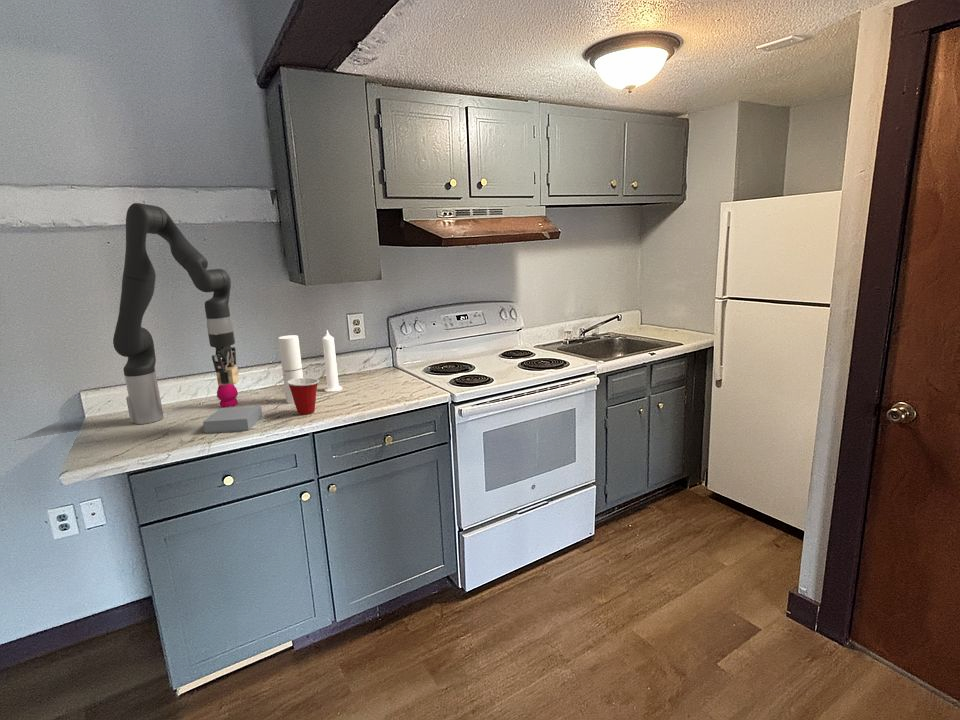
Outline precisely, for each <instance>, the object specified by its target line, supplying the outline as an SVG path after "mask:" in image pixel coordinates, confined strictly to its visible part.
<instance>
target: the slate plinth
mask: <svg viewBox="0 0 960 720" xmlns="http://www.w3.org/2000/svg"><path fill="white" fill-rule="evenodd" d="M262 418H263V411H262V405H253V406H252V405H251V406H236V407H235V406H232V407H220V408H219V409H218V410H216V411H215V412H213V413H212V414H210V416H208V417H207V418H206V419H204V420H202V421H203V422H202V423H203V429H204V433H205V434H213V433H215V434H216V433H229V432H230V433H231V432H232V433H233V432H247V431H250V430H251V429H252V428H253V427H254V426H255V425H256V424H257V423H258V422H259V421H260V420H261V419H262Z"/></svg>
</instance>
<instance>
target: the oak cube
mask: <svg viewBox="0 0 960 720" xmlns="http://www.w3.org/2000/svg"><path fill="white" fill-rule="evenodd" d="M227 373H228V380H229V383H227V384H222V383H221V378H220V373H218V372H216V371H215V374H216V380H217V386H219V385H234V386H235V384H236V383H238V382H240V377H239V370H238V366H237V365H235V366H234V367H227Z"/></svg>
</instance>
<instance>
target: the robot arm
mask: <svg viewBox="0 0 960 720" xmlns="http://www.w3.org/2000/svg"><path fill="white" fill-rule="evenodd" d="M148 234H149V235H150V234H151V235H158V236H160V237H161V238H163V240H165V241H166V242H167V243H168V245H169V248H170V249H169V250H170V253H171V255H172V257H173V258H174V260H175V261H176V262H177V263H178V264H179V265H180V266H181V267H182V268H183V270H185V271H186V272H187V273H188V276H189V277H190V279H191V281H192V283H193V285H194V286H195V288H197V289H198V291H201V292H203V293H212V292H213V294H212V297H211V298H209V299H208V300H205V302H204V311H205V317H206V328H207V335H208V341H209V346H210V347H211V348H214V349H215V355H214V354H213V355H211V359H212V360H211V361H212V363H213V367H215V368H214V371H215V373H216V372H218V373H220V378H221V383H222V384H227V383H229V380H228V373H227V367H234V366H237V355H236V354H237V352H236V347H234V346H233V345H235V343H236V341H235V334H234V333H235V332H234V327H233V321H232V317H231V314H230V306H229V301H230V294H231V289H232V288H231V286H232V282H231V277H230V275H229V273H228V272H227V271H226V270H225V269H223V268H213V269H207V268H208V266H209V262H208V260H207V258H206V257H205V256H204V255H203V254H202V253H201V252H200V251H199V250H198V249H197V248H196V247H195V246H194V245H193V244H191V242H190V241H189V240H188V239H187V238H186V236H185V235H184V234H183V232H182V231H181V230H180V229H179V227H178V226H177V225H176V223H175V222H174V220H173V219H172V218H171V216H170V215H169V214H168V212H167V211H166V210H165V209H164V208H162V207H160V206H157V205H153V204H152V205H151V204H147V203H146V204H145V203H142V202H141V203H140V202H135V203H132V204H131V205H130V206H129V207H128V208H127V211H126V216H125V252H124V253H125V254H124V264H123V265H124V266H123V271H122V278H121V279H122V280H121V292H120V301H119V308H118V310H119V311H118V317H117V321H116V326H115V330H114V334H113V338H112V339H113V340H112V344H113V348H114V350H115V351H116V353H117V354H118V355H120V356H122V357H126V358H127V361H126V363H125V365H124V367H123V375H124V379H125V384H126V390H127V396H126V397H125V400H126V404H127V406H126V407H127V411H128V414H129V420H130V424H136V425H145V424H151V423H155V422H158V421H160V420H162V419H164V418H165V416H164V410H163V406H162V399H161V395H160V389H159V384H158V379H157V374H156V373H157V372H156V367H155V366H156V362H157V359H156V358H157V357H156V350H155V344H154V343H155V342H154V339H153V336H152V334H151V333H150V331H149V330H148V329H147V328H145V327H143V326H142V323H143V319H144V315H145V312H146V311H147V309H148V307H149V305H150V303H151V301H152V299H153V296H154V293H155V286H156V278H157V277H156V270H155V268H154V265H153V263H152V261H151V260H150V259H151V258H150V257H149V255H148V253H147V248H146V247H147V246H146V244H147V235H148Z"/></svg>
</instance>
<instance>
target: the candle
mask: <svg viewBox="0 0 960 720" xmlns="http://www.w3.org/2000/svg"><path fill="white" fill-rule="evenodd" d="M321 339H322V349H323V359H324V368H325V376H326V384H327V387H324V392H325V393H337V392H340V391H342V390H343V386H341V385H340V384H339V375H338V366H337V365H338V364H337V355H336V346H335V337H333V336H332V335H331V334H330V333H329V330H328V329H326V332H325V335H324V336H323V337H322V338H321Z"/></svg>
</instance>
